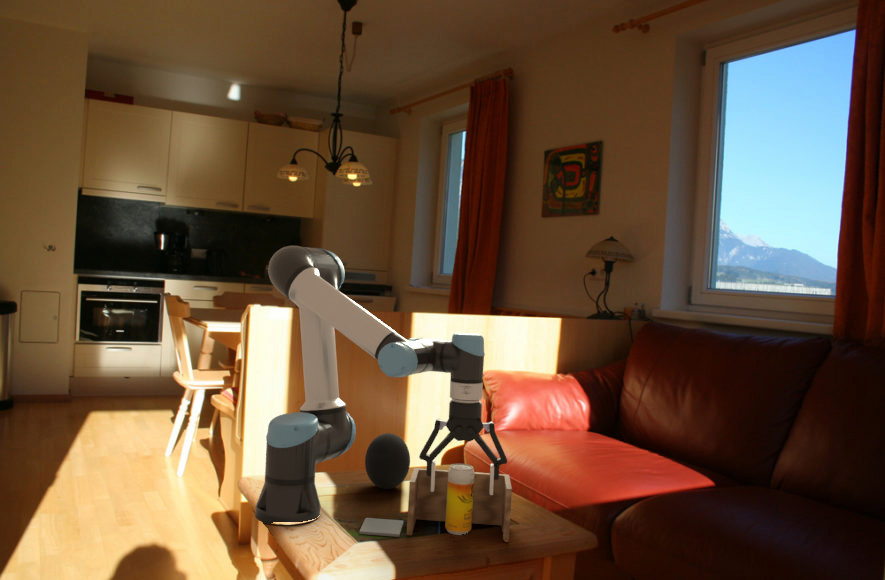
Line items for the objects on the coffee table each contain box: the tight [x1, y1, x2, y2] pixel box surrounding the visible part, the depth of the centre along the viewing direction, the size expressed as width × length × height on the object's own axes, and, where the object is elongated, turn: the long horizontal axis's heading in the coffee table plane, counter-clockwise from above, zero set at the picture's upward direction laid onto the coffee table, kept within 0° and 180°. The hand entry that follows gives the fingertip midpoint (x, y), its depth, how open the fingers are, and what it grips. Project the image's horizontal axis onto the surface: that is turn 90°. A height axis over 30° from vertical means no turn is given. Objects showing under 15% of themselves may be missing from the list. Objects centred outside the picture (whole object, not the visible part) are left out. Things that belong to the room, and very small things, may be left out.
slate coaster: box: [358, 517, 404, 538], centre depth 159 cm, size 9×9×1 cm
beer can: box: [444, 463, 475, 536], centre depth 160 cm, size 6×6×15 cm
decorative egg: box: [364, 432, 411, 490], centre depth 190 cm, size 12×12×15 cm
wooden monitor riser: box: [406, 467, 513, 541], centre depth 161 cm, size 23×12×12 cm, turn 87°
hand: (461, 491), depth 160 cm, fingers open, 13 cm apart
